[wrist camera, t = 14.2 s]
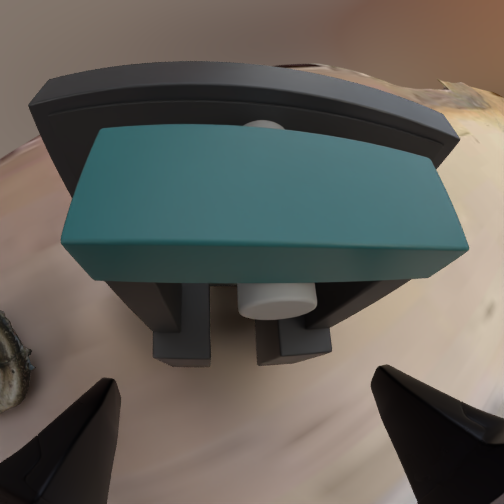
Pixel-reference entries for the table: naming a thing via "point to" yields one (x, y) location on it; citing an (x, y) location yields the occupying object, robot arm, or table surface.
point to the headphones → (254, 228)
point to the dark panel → (231, 113)
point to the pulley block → (12, 366)
